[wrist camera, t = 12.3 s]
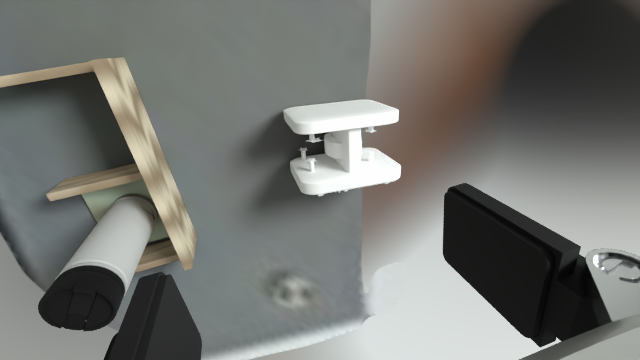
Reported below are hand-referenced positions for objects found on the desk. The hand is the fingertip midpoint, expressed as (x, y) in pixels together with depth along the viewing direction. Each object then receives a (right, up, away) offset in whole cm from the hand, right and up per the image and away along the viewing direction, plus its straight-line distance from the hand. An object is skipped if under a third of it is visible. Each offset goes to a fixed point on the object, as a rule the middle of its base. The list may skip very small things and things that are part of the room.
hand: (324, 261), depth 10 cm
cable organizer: (+1, +10, +40) cm, 41 cm away
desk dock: (-29, +4, +33) cm, 44 cm away
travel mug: (-28, -2, +35) cm, 45 cm away
